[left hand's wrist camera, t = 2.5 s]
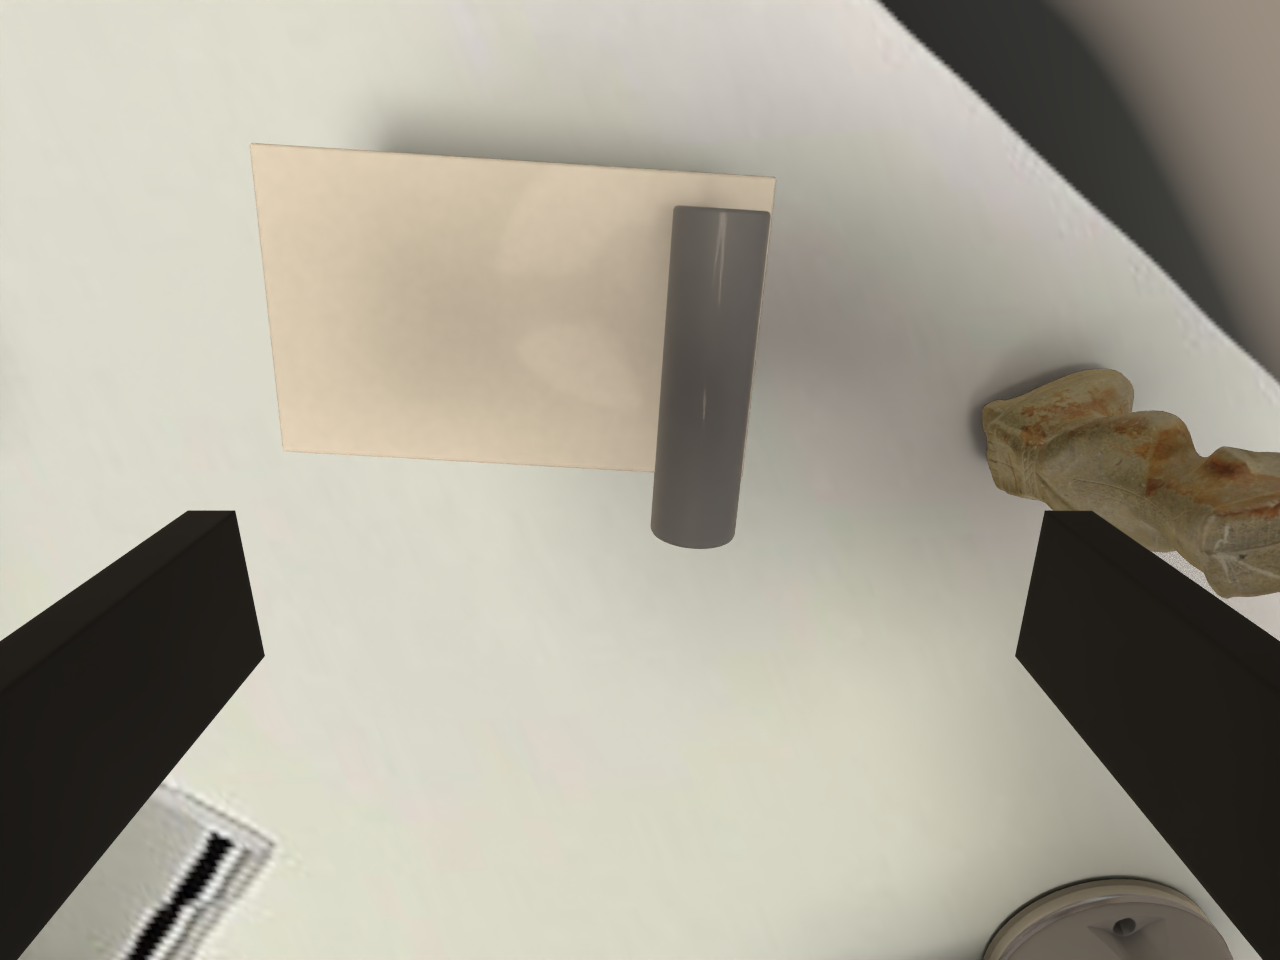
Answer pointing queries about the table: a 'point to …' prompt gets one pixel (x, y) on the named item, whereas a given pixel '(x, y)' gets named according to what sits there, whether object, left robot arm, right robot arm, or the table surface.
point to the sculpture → (1141, 477)
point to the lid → (519, 316)
